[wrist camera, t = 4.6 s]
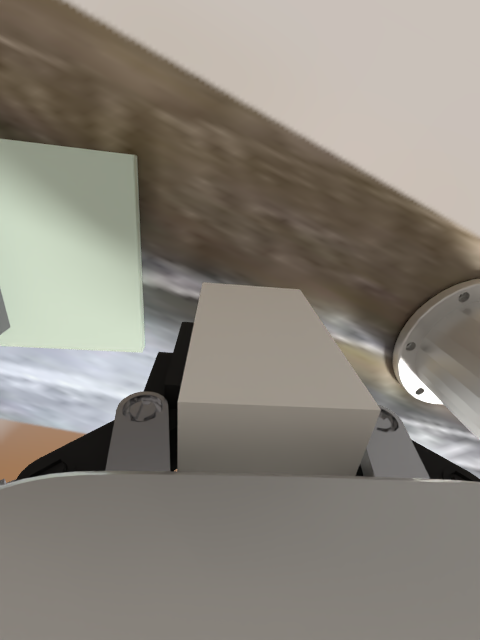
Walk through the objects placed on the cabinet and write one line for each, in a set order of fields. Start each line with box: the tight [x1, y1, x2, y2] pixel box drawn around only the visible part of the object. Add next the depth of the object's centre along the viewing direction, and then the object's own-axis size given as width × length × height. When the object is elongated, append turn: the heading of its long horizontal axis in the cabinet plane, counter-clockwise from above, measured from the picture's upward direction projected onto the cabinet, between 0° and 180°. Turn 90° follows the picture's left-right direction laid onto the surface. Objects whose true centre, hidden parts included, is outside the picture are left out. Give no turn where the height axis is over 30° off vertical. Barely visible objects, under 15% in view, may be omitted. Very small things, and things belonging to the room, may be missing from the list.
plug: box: [177, 282, 381, 476], centre depth 10 cm, size 4×6×7 cm, turn 174°
